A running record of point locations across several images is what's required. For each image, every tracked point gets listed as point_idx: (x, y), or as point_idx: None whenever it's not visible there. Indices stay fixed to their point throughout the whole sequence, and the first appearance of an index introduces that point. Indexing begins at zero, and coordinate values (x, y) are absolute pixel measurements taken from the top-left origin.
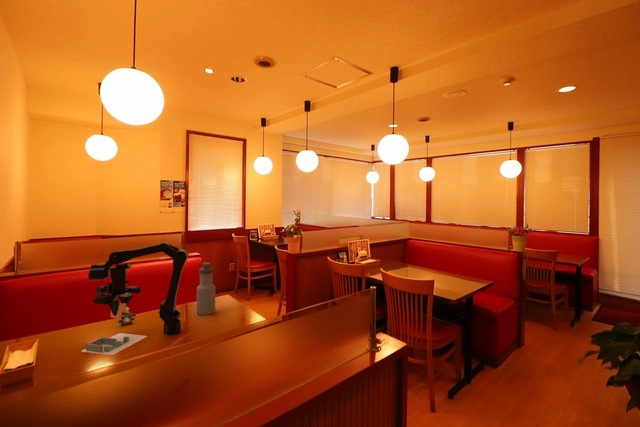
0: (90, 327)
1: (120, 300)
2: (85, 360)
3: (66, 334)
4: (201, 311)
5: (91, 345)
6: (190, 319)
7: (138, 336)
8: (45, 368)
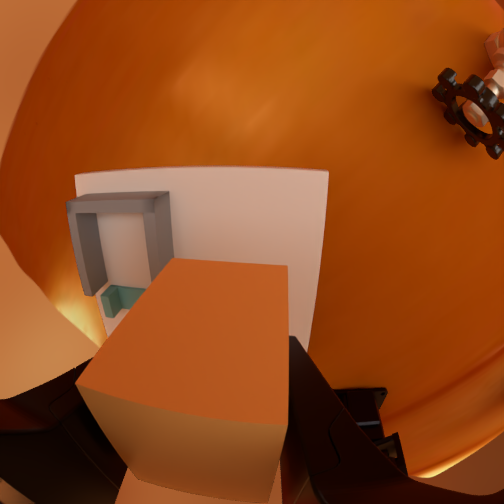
0: None
1: (308, 488)
2: (63, 251)
3: None
4: None
5: (72, 238)
6: (492, 366)
7: (295, 326)
8: (4, 169)
